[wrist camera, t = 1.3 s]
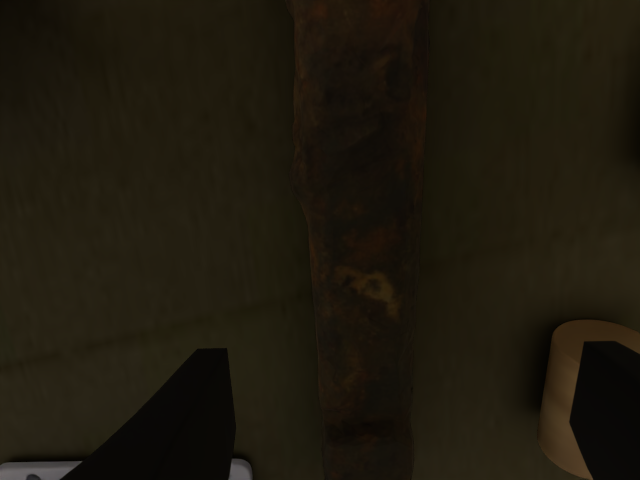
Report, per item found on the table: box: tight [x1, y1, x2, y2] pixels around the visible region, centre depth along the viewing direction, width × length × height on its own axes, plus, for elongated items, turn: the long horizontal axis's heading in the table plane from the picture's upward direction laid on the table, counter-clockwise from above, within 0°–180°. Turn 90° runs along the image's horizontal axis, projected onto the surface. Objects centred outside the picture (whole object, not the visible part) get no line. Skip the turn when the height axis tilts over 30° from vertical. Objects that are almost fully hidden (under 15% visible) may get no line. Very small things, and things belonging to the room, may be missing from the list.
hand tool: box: [286, 0, 430, 480], centre depth 15 cm, size 19×4×5 cm, turn 0°
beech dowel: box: [537, 320, 640, 480], centre depth 18 cm, size 3×4×3 cm
